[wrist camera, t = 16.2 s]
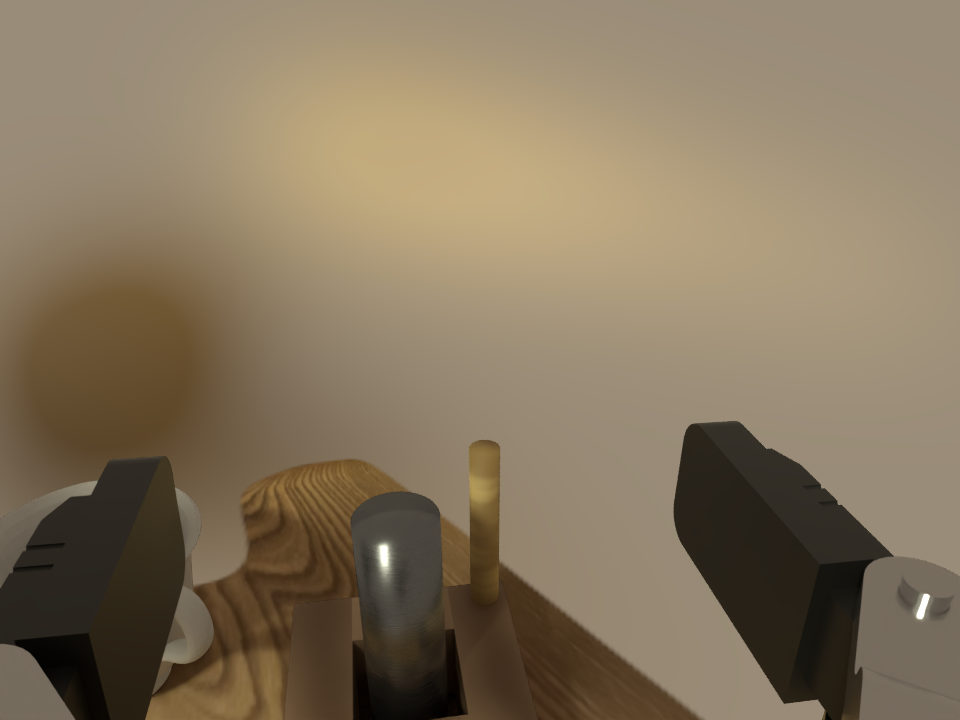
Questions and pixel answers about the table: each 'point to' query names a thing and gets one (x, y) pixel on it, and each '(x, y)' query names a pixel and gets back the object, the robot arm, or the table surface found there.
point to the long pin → (402, 605)
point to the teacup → (191, 619)
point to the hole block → (468, 632)
